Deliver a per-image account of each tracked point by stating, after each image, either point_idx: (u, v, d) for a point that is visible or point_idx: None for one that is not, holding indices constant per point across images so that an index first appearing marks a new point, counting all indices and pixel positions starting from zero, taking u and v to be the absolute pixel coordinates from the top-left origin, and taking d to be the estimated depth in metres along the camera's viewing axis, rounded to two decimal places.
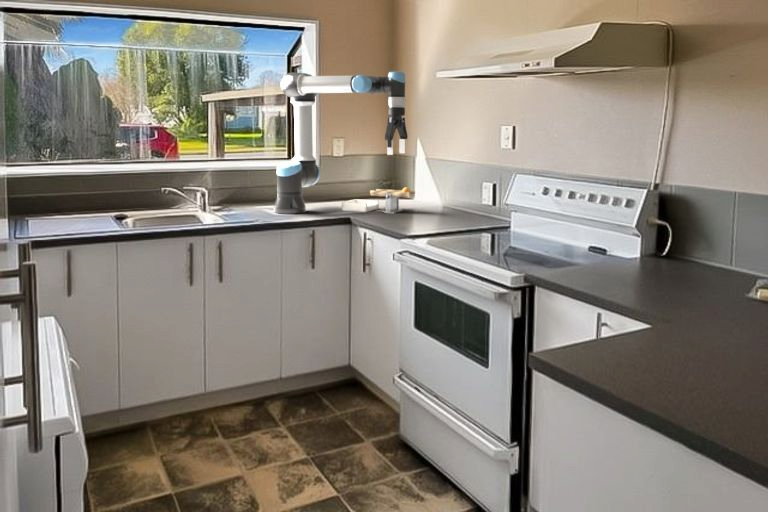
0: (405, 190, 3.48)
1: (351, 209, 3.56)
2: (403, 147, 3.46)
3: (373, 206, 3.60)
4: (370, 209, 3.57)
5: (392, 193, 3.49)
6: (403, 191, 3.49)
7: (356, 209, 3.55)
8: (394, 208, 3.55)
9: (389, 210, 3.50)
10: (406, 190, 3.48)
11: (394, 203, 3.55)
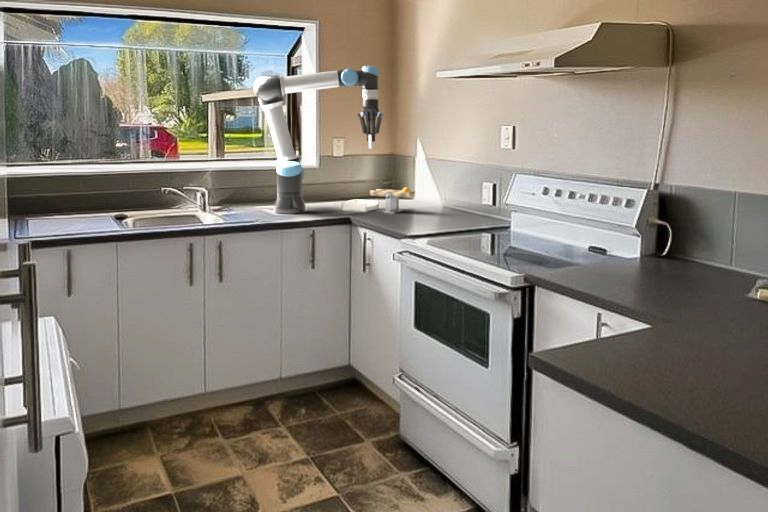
0: (405, 190, 3.48)
1: (351, 209, 3.56)
2: None
3: (373, 206, 3.60)
4: (370, 209, 3.57)
5: (392, 193, 3.49)
6: (403, 191, 3.49)
7: (356, 209, 3.55)
8: (394, 208, 3.55)
9: (389, 210, 3.50)
10: (406, 190, 3.48)
11: (394, 203, 3.55)
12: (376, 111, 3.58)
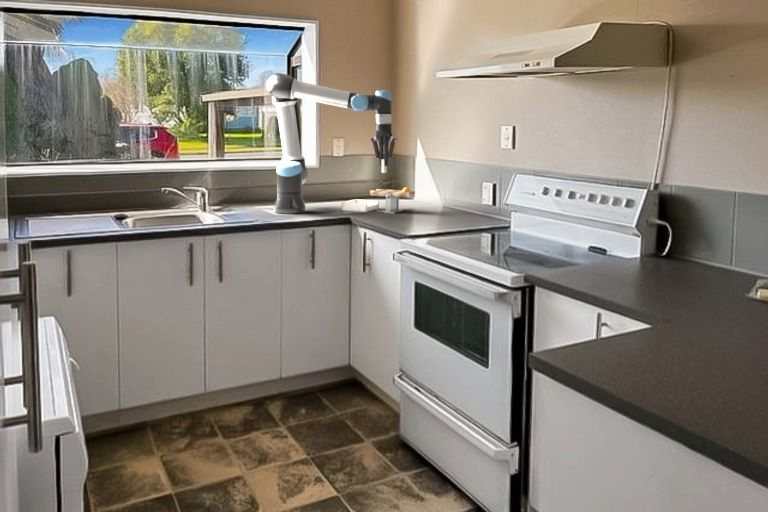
0: (405, 190, 3.48)
1: (351, 209, 3.56)
2: None
3: (373, 206, 3.60)
4: (370, 209, 3.57)
5: (392, 193, 3.49)
6: (403, 191, 3.49)
7: (356, 209, 3.55)
8: (394, 208, 3.55)
9: (389, 210, 3.50)
10: (406, 190, 3.48)
11: (394, 203, 3.55)
12: (389, 136, 3.55)
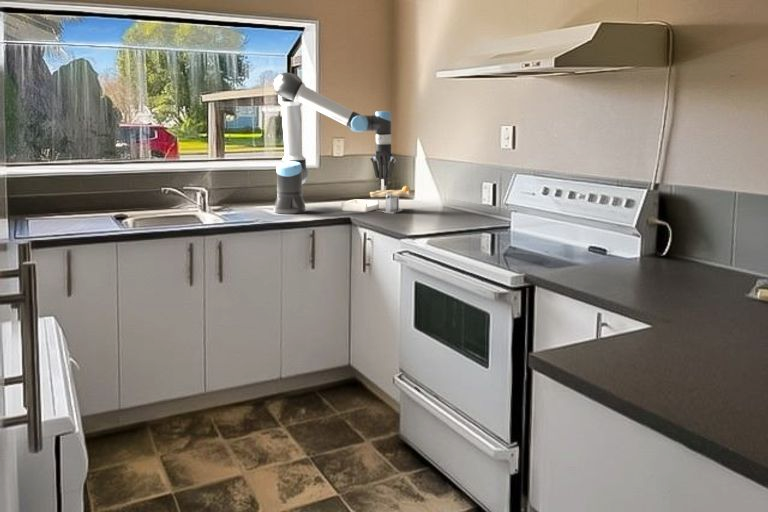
0: (405, 189, 3.48)
1: (351, 209, 3.56)
2: None
3: (373, 206, 3.60)
4: (370, 209, 3.57)
5: (392, 193, 3.49)
6: (403, 190, 3.49)
7: (356, 209, 3.55)
8: (394, 208, 3.55)
9: (389, 210, 3.50)
10: (406, 189, 3.48)
11: (394, 203, 3.55)
12: (389, 156, 3.57)
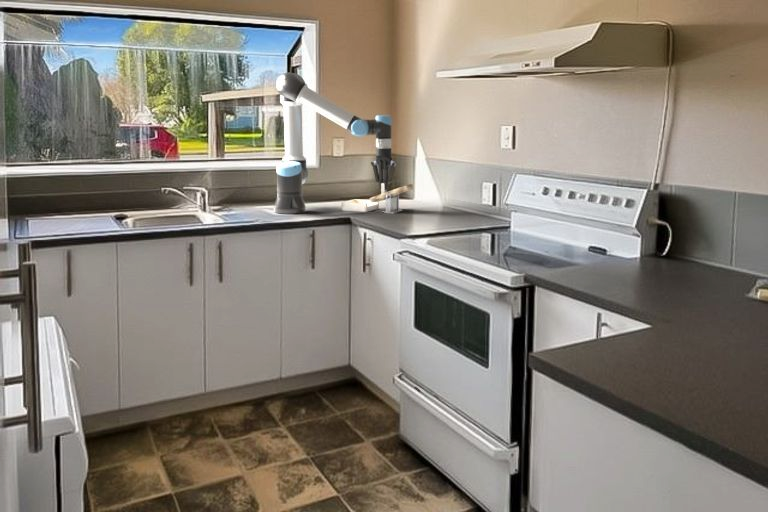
0: None
1: (351, 209, 3.56)
2: None
3: (373, 206, 3.60)
4: (370, 209, 3.57)
5: (391, 192, 3.49)
6: None
7: (356, 209, 3.55)
8: (394, 208, 3.55)
9: (389, 210, 3.50)
10: None
11: (394, 203, 3.55)
12: (389, 160, 3.57)
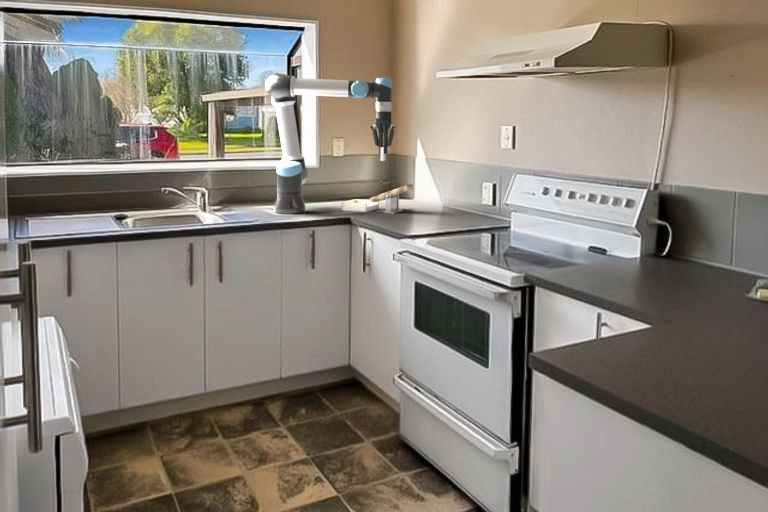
0: None
1: (351, 209, 3.56)
2: None
3: (373, 206, 3.60)
4: (370, 209, 3.57)
5: (391, 192, 3.49)
6: None
7: (356, 209, 3.55)
8: (394, 208, 3.55)
9: (389, 210, 3.50)
10: None
11: (394, 203, 3.55)
12: (389, 123, 3.54)
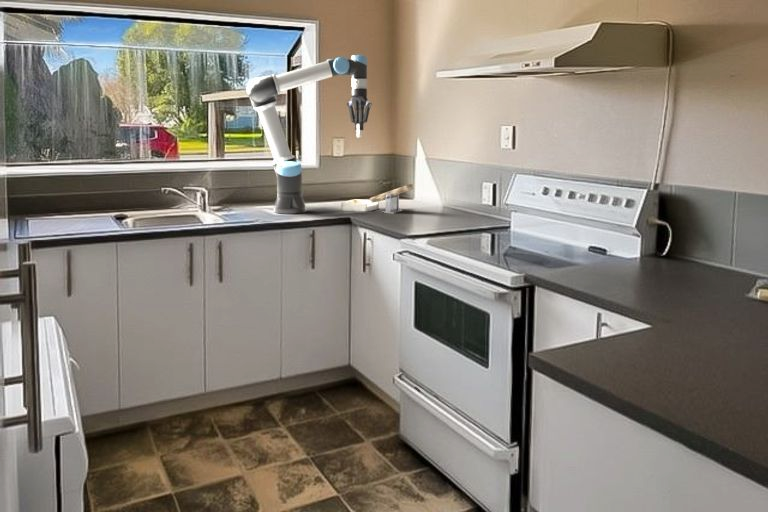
0: None
1: (351, 209, 3.56)
2: None
3: (373, 206, 3.60)
4: (370, 209, 3.57)
5: (391, 192, 3.49)
6: None
7: (356, 209, 3.55)
8: (394, 208, 3.55)
9: (389, 210, 3.50)
10: None
11: (394, 203, 3.55)
12: (364, 100, 3.59)
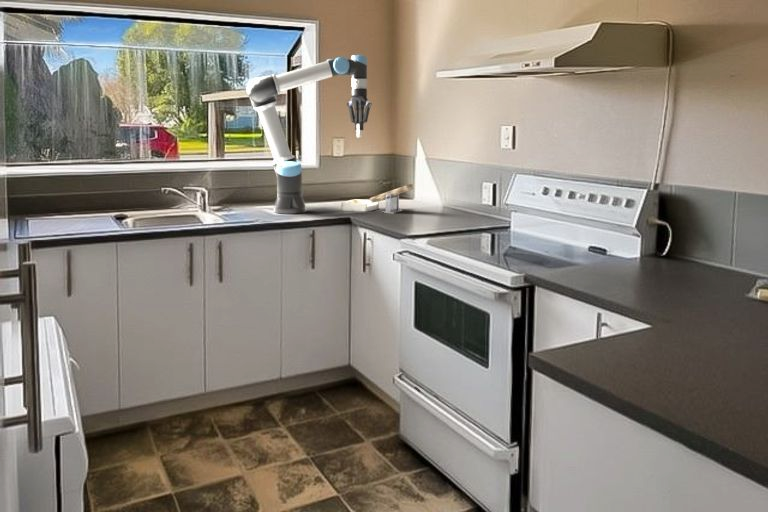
0: None
1: (351, 209, 3.56)
2: None
3: (373, 206, 3.60)
4: (370, 209, 3.57)
5: (391, 192, 3.49)
6: None
7: (356, 209, 3.55)
8: (394, 208, 3.55)
9: (389, 210, 3.50)
10: None
11: (394, 203, 3.55)
12: (364, 100, 3.59)
